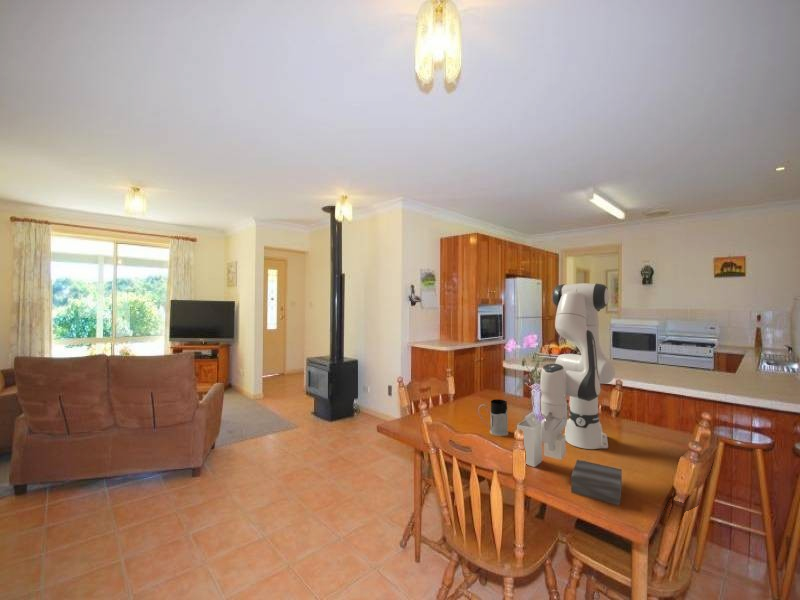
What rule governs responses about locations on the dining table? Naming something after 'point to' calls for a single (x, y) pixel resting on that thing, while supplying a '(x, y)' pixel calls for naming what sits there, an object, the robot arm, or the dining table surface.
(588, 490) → the slate box
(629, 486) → the dining table surface
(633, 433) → the dining table surface
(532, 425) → the milk carton
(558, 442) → the ivory block
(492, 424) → the grey mug
